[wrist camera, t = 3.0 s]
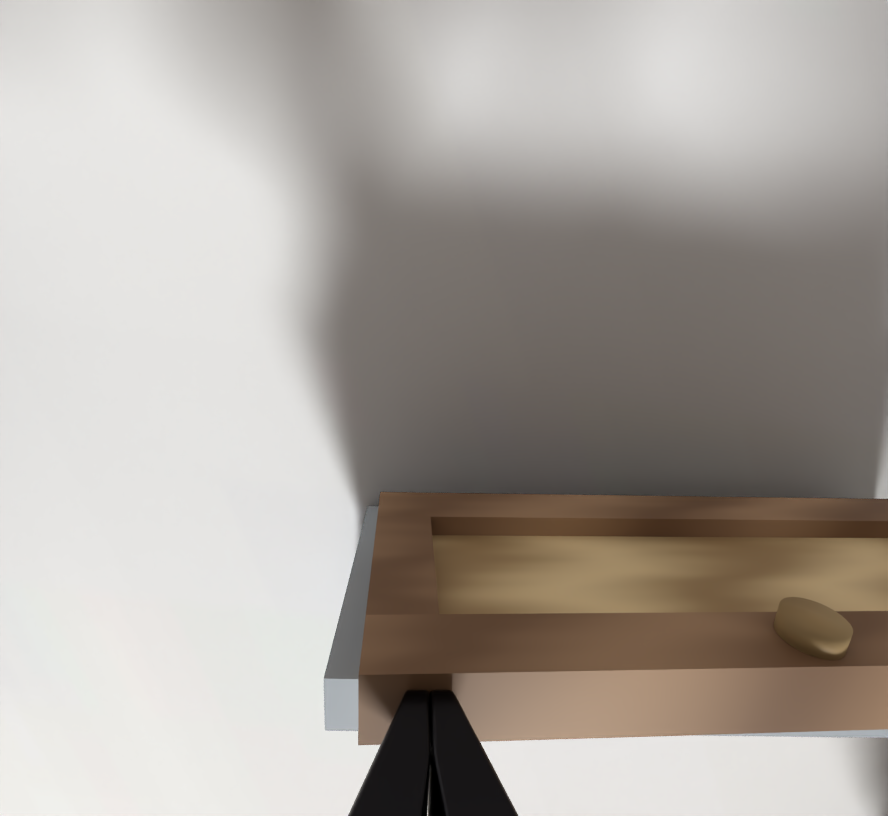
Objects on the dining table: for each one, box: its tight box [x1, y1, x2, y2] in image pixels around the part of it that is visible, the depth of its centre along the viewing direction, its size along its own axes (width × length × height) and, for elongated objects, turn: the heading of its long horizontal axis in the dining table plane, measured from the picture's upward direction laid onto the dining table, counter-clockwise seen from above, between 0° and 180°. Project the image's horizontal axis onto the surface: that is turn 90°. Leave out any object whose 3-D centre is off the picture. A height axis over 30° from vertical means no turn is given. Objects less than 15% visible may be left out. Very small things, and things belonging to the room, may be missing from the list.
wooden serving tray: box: [358, 492, 888, 745], centre depth 13 cm, size 18×2×7 cm, turn 87°
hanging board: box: [324, 506, 888, 738], centre depth 16 cm, size 20×6×8 cm, turn 87°
